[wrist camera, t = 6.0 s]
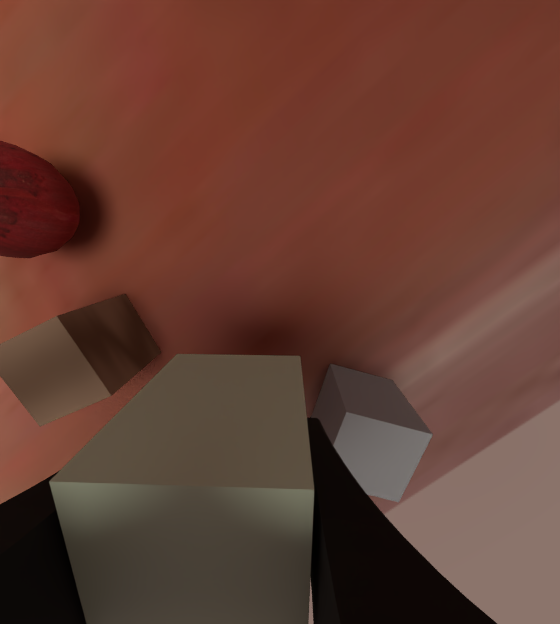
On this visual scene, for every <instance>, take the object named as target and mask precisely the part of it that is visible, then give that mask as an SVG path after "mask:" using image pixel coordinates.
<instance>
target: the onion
mask: <svg viewBox="0 0 560 624" xmlns="http://www.w3.org/2000/svg"><path fill="white" fill-rule="evenodd" d="M79 222H80V205H79V202H78V200H77V197H76V195H75V192H74V190H73V187H72V186H71V185H70V184H69V183H68V182H67V181H66V179H65V178H64V177H63V176H62V175H61V174H60V173H59V172H58V171H57V170H56V169H55V168H54V166H53V165H52V164H51V163H49V162H47V161H46V160H44V159H42V158H40V157H39V156H37V155H35V154H33V153H31V152H29V151H27V150H24V149H22V148H20V147H18V146H16V145H13V144H9V143H6V142H3V141H0V256H6V257H15V258H32V257H35V256H39V255H42V254H46V253H50V252H54V251H57V250H58V249H59V248H60V247H62V246H63V245H64V244H65V243H66V242H67V241H68V240H70V239H71V238H72V237H73V236H74V234H75V231H76V229H77V227H78V225H79Z"/></svg>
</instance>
